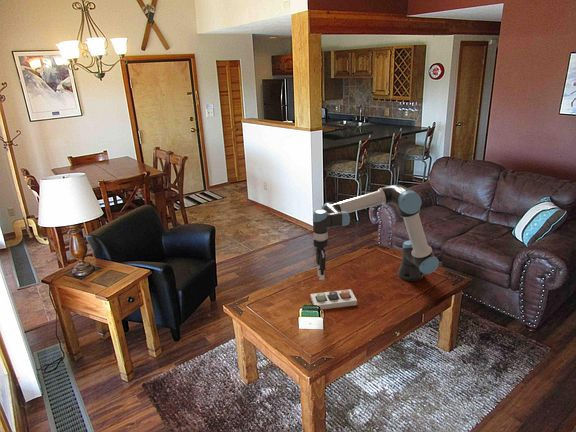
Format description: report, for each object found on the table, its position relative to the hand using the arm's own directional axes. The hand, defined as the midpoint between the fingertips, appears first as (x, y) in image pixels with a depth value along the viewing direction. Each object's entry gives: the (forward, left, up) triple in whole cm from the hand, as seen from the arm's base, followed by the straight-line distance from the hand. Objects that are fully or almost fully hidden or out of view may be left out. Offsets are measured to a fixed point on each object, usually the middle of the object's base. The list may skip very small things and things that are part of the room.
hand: (320, 277), depth 221 cm
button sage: (0, 0, -14) cm, 14 cm away
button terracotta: (-14, 0, -14) cm, 20 cm away
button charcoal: (-7, 0, -14) cm, 16 cm away
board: (-7, 0, -17) cm, 18 cm away
